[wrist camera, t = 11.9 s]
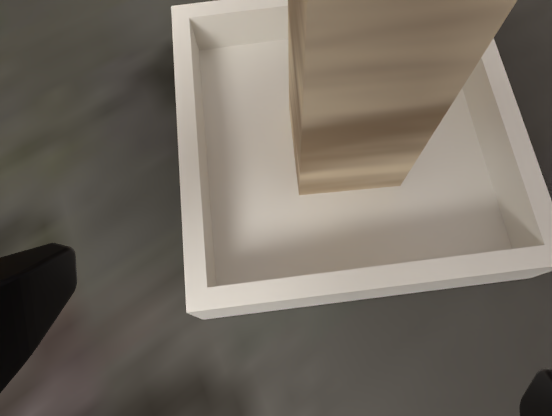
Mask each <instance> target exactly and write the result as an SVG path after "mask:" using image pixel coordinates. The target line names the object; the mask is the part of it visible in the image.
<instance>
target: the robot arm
mask: <svg viewBox="0 0 552 416" xmlns="http://www.w3.org/2000/svg"><path fill="white" fill-rule="evenodd" d="M76 285H77V270H76V256H75V251H74V250H73V249H72V248H71V247H68V246H65V245H61V244H57V243H50V244H47V245H43V246H40V247H36V248H33V249H29V250H25V251H22V252H18V253H15V254H11V255H8V256H4V257H1V258H0V393H1V392H2V390H3V389H4V388H5V387H6V386H7V384H8V383H9V382H10V381H11V379H12V378H13V377H14V376H15V375H16V373H17V372H18V371H19V370H20V369H21V367H22V366H23V365H24V364H25V362H26V361H27V360H28V359H29V357H30V356H31V355H32V353H33V352H34V350H35V349H36V348H37V346H38V345H39V343H40V342H41V340H42V339H43V337H44V336H45V334H46V333H47V331H48V330H49V329H50V327H51V326H52V324H53V323H54V321H55V320H56V318H57V317H58V315H59V314H60V312H61V311H62V309H63V308H64V306H65V305H66V303H67V302H68V300H69V299H70V297H71V296H72V294H73V293H74V291H75V288H76ZM520 416H552V370H550V369H541V370H540V371H538V372H537V374H536V375H535V377H534V379H533V380H532V382H531V384H530V385H529V387H528V389H527V390H526V392H525V394H524V395H523V397H522V399H521V402H520Z"/></svg>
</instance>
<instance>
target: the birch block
mask: <svg viewBox="0 0 552 416" xmlns="http://www.w3.org/2000/svg"><path fill="white" fill-rule="evenodd" d="M516 2H517V0H288V59H289V112H290V121H291V129H292V138H293V147H294V156H295V165H296V174H297V183H298V192H299V195H308V194H318V193H329V192H340V191H350V190H361V189H372V188H382V187H393V186H401V184H402V182H403V181H404V179H405V178H406V176H407V174H408V173H409V171H410V170H411V168H412V167H413V165H414V163H415V162H416V160H417V159H418V157H419V155H420V154H421V152H422V151H423V149H424V148H425V146H426V144H427V143H428V141H429V140H430V138H431V136H432V135H433V133H434V132H435V130H436V128H437V127H438V125H439V124H440V122H441V121H442V119H443V117H444V116H445V114H446V113H447V111H448V109H449V108H450V106H451V105H452V103H453V102H454V100H455V98H456V97H457V95H458V94H459V92H460V90H461V89H462V87H463V86H464V84H465V83H466V81H467V79H468V78H469V76H470V75H471V73H472V71H473V70H474V68H475V67H476V65H477V64H478V62H479V60H480V59H481V57H482V56H483V54H484V52H485V51H486V49H487V48H488V46H489V45H490V43H491V41H492V40H493V38H494V37H495V35H496V33H497V32H498V30H499V29H500V27H501V25H502V24H503V22H504V21H505V19H506V18H507V16H508V14H509V13H510V11H511V10H512V8H513V6H514V5H515V3H516Z"/></svg>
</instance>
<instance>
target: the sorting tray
mask: <svg viewBox="0 0 552 416" xmlns="http://www.w3.org/2000/svg"><path fill="white" fill-rule="evenodd" d="M171 12H172V32H173V52H174V72H175V92H176V112H177V132H178V152H179V172H180V192H181V213H182V233H183V253H184V273H185V293H186V313H189V314H191V315H193V316H196V317H198V318H200V319H203V320H204V319H212V318H220V317H228V316H236V315H244V314H251V313H259V312H267V311H275V310H283V309H291V308H299V307H307V306H315V305H322V304H330V303H338V302H346V301H354V300H362V299H370V298H378V297H386V296H393V295H401V294H409V293H417V292H425V291H433V290H441V289H449V288H457V287H464V286H472V285H480V284H488V283H496V282H504V281H512V280H520V279H528V278H532V277H535V276H538V275H541V274H544V273H547V272H550V271H552V201H551V198H550V195H549V192H548V189H547V187H546V184H545V181H544V178H543V175H542V173H541V170H540V167H539V164H538V161H537V158H536V156H535V153H534V150H533V147H532V144H531V142H530V139H529V136H528V133H527V130H526V128H525V125H524V122H523V119H522V116H521V113H520V111H519V108H518V105H517V102H516V99H515V97H514V94H513V91H512V88H511V85H510V83H509V80H508V77H507V74H506V71H505V68H504V66H503V63H502V60H501V57H500V54H499V52H498V49H497V46H496V43H495V40H494V38H493V40H492V41H491V43H490V45H489V46H488V48H487V49H486V51H485V52H484V54H483V56H482V57H481V59H480V60H479V62H478V64H477V65H476V67H475V68H474V70H473V71H472V73H471V75H470V76H469V78H468V79H467V81H466V83H465V84H464V86H463V87H462V89H461V90H460V92H459V94H458V95H457V97H456V98H455V100H454V102H453V103H452V105H451V106H450V108H449V109H448V111H447V113H446V114H445V116H444V117H443V119H442V121H441V122H440V124H439V125H438V127H437V128H436V130H435V132H434V133H433V135H432V136H431V138H430V140H429V141H428V143H427V144H426V146H425V148H424V149H423V151H422V152H421V154H420V155H419V157H418V159H417V160H416V162H415V163H414V165H413V167H412V168H411V170H410V171H409V173H408V174H407V176H406V178H405V179H404V181H403V182H402V184H401V186H393V187H382V188H372V189H361V190H350V191H340V192H329V193H318V194H308V195H299V192H298V183H297V174H296V165H295V156H294V147H293V138H292V129H291V121H290V112H289V59H288V0H218V1H209V2H201V3H193V4H185V5H177V6H171Z"/></svg>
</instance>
